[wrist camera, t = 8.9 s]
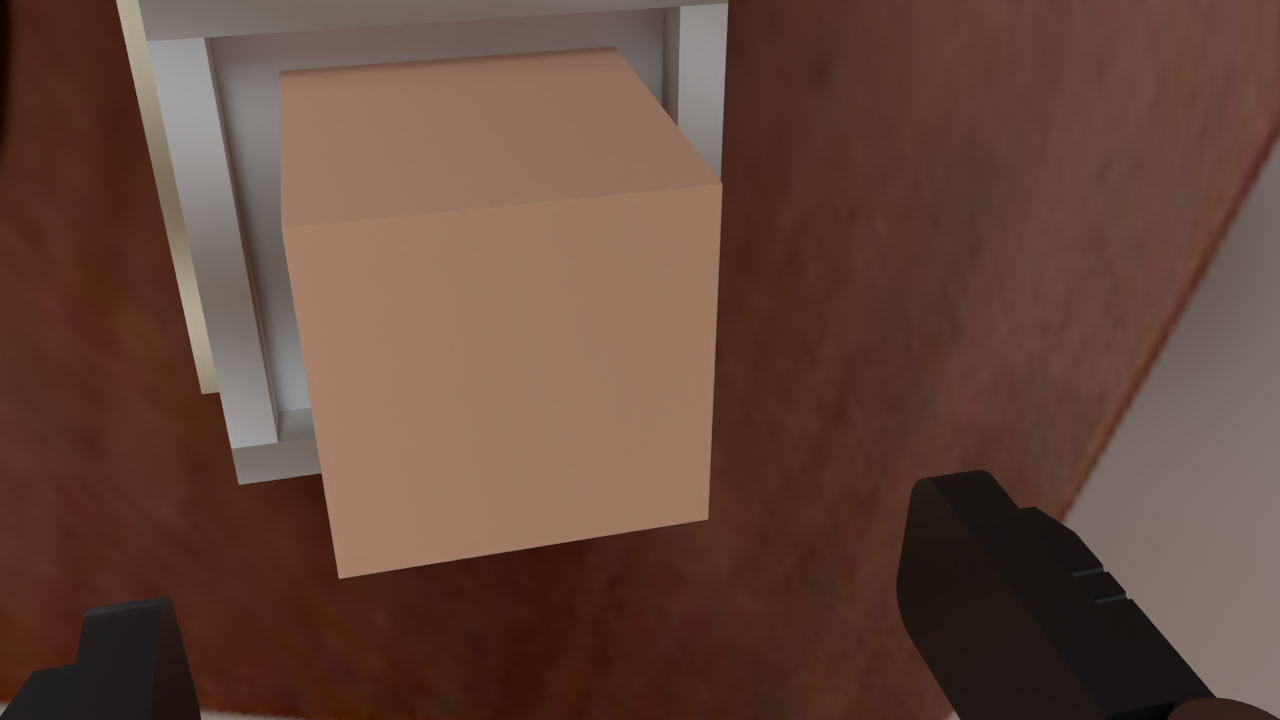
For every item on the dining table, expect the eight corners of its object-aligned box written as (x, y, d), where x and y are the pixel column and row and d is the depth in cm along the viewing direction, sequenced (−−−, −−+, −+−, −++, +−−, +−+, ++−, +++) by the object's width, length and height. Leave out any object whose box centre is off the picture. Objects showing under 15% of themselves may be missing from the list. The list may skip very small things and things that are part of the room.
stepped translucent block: (109, -182, 24) (36, -88, 17) (649, -197, 26) (797, -121, 19) (209, 307, 30) (188, 538, 22) (645, 258, 32) (757, 453, 25)
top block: (278, 70, 19) (281, 228, 14) (614, 46, 21) (722, 184, 16) (324, 363, 22) (339, 579, 17) (616, 327, 24) (708, 518, 19)
